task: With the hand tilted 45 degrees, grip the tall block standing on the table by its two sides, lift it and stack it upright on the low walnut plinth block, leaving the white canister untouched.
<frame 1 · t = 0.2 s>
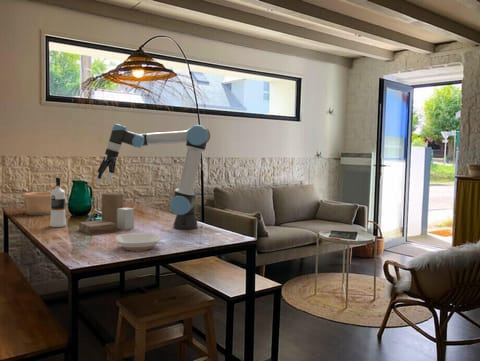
hand: (102, 183, 250), 27 cm above the table, tool tilted 15°, fingers open, 13 cm apart
bowl: (138, 248, 207), on the table
white canister: (125, 228, 255), on the table
vodka: (58, 226, 255), on the table
block: (112, 225, 264), on the table
pottery: (40, 213, 298), on the table
plinth: (98, 231, 245), on the table
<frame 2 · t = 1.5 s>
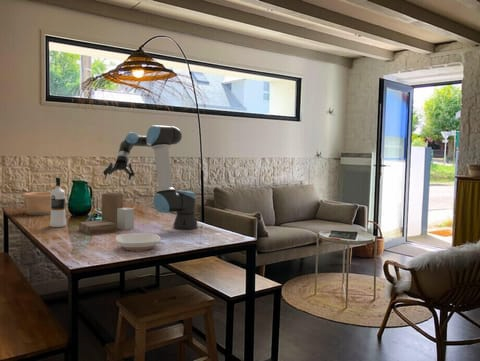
hand: (116, 182, 273), 26 cm above the table, tool tilted 45°, fingers open, 13 cm apart
nothing on the table moved.
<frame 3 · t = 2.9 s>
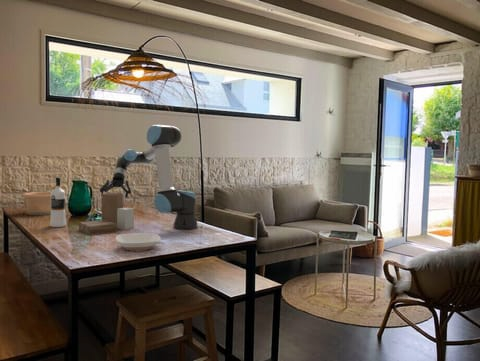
hand: (113, 200, 268), 15 cm above the table, tool tilted 45°, fingers open, 13 cm apart
block: (112, 224, 264), on the table, touching gripper
everything else where it was.
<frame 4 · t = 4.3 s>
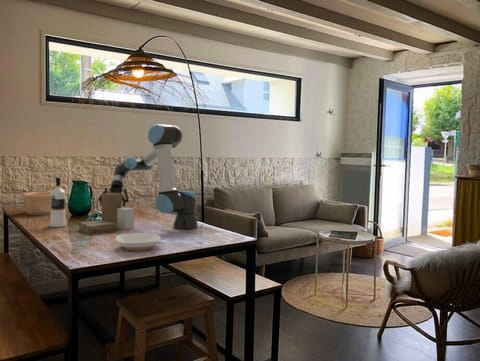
hand: (111, 209, 261), 10 cm above the table, tool tilted 45°, fingers closed on block, 12 cm apart
block: (112, 225, 264), on the table, touching gripper
everything else where it was.
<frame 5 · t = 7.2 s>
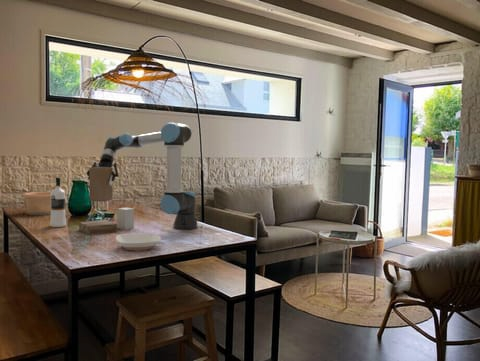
hand: (99, 184, 247), 27 cm above the table, tool tilted 45°, fingers closed on block, 12 cm apart
block: (101, 200, 251), point 17 cm above the table, touching gripper
everything else where it was.
when the fingers open (16 cm above the table, at t = 10.5 s): block drops 1 cm, resting on plinth.
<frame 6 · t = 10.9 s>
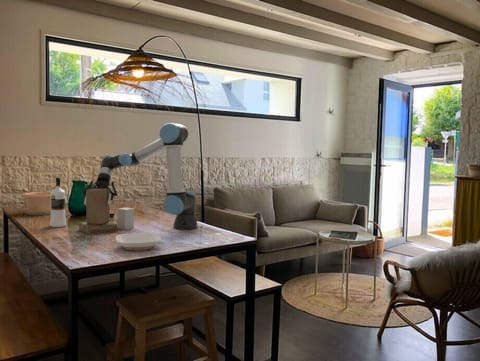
hand: (96, 204, 241), 16 cm above the table, tool tilted 45°, fingers open, 13 cm apart
block: (98, 223, 244), point 4 cm above the table, touching plinth
plinth: (98, 231, 245), on the table, touching block
everything else where it was.
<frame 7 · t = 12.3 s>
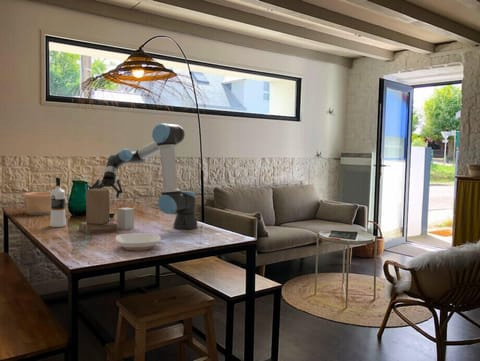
hand: (103, 200, 254), 16 cm above the table, tool tilted 45°, fingers open, 13 cm apart
nothing on the table moved.
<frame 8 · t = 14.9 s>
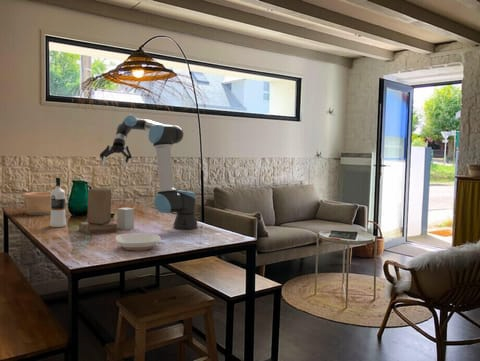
hand: (113, 165, 266), 38 cm above the table, tool tilted 45°, fingers open, 13 cm apart
at the end: block inside the target area on the plinth (0.5 cm from its centre), point 5.0 cm above the plinth's base; block tilted 1°; the gripper is holding nothing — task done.
